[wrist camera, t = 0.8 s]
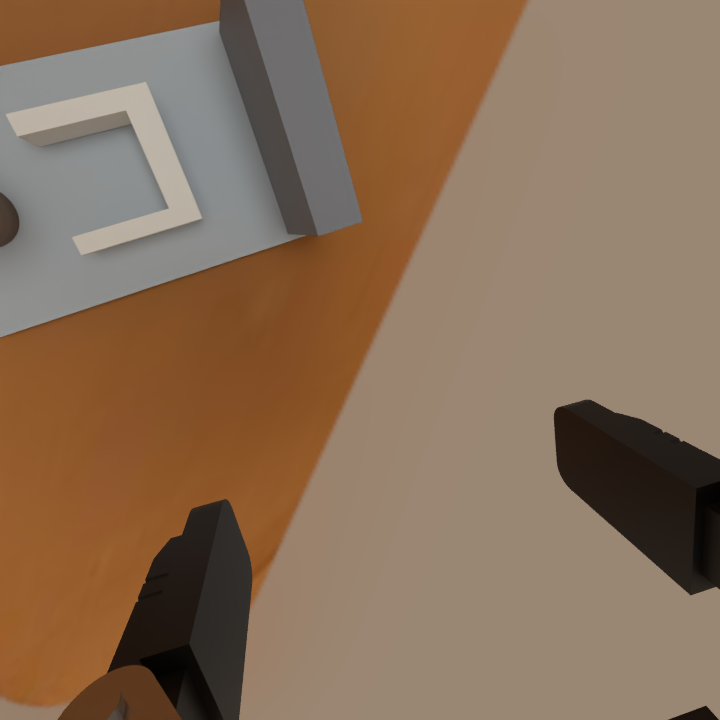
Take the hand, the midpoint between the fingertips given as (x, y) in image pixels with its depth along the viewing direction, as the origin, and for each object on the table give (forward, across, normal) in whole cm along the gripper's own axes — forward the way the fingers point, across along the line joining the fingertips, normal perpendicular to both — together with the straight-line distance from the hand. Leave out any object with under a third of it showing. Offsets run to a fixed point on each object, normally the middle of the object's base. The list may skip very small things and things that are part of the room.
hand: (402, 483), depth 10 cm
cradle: (+21, +10, -11) cm, 26 cm away
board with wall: (+22, +10, -12) cm, 27 cm away
